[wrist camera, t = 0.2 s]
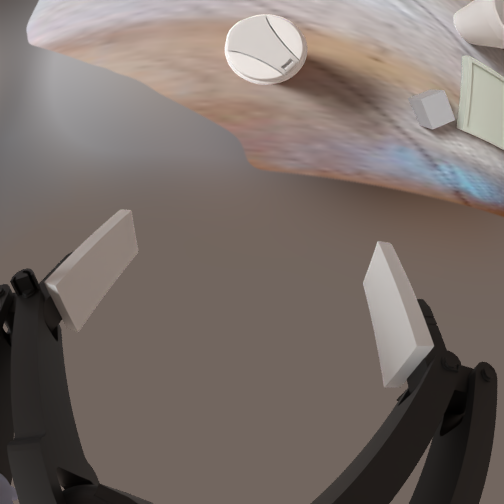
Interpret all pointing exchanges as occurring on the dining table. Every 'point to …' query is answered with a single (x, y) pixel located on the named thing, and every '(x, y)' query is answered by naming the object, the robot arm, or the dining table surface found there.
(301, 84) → the dining table surface
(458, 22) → the foam cup
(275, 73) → the paper cup
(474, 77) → the tray
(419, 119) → the grey painted block
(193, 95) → the dining table surface
